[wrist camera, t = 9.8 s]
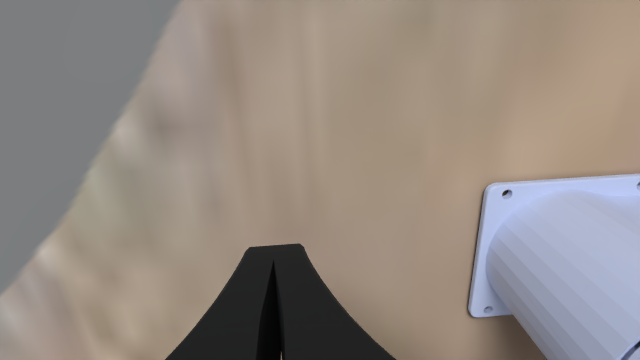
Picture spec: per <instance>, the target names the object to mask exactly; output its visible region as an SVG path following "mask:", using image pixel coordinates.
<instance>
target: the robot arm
mask: <svg viewBox="0 0 640 360" xmlns="http://www.w3.org/2000/svg"><path fill="white" fill-rule="evenodd" d="M639 182H640V174H626V175H610V176H594V177H579V178H563V179H548V180H532V181H517V182H501V183H493V184H490V185H489V186H488V187H487V188H486V189H485V192H484V197H483V204H482V212H481V219H480V226H479V233H478V240H477V247H476V255H475V262H474V269H473V276H472V283H471V290H470V298H469V305H468V310H469V312H470V314H471V315H472V316H473V317H477V318H479V317H490V316H501V315H512V314H513V315H514V317H515V318H516V319H517V321H518V322H519V323H520V325H521V326H522V327H523V328H524V330H525V331H526V332H527V334H528V335H529V336H530V338H531V339H532V340H533V341H534V343H535V344H536V345H537V347H538V348H539V349H540V351H541V352H542V353H543V354H544V356H545V357H546V358H547V360H640V184H639V185H638V186H637V184H638V183H639ZM505 190H508V193H507V194H506V195H504V196H502V194H503V192H504V191H505ZM488 306H489V307H488ZM486 307H488V308H487V309H485V308H486ZM281 353H282V360H396V359H395V358H393V357H392V356H391V355H390V354H389V353H388V352H387V351H385V350H384V349H383V348H382V347H381V346H380V345H379V344H378V343H376V342H375V341H374V340H373V339H372V338H371V337H370V336H369V335H368V334H367V333H366V332H365V331H364V330H363V329H362V328H361V327H360V326H359V325H358V324H357V323H356V322H355V321H354V319H353V318H352V317H351V316H350V315H349V314H348V313H347V312H346V310H345V309H344V308H343V307H342V306H341V304H340V303H339V302H338V301H337V300H336V298H335V297H334V296H333V294H332V293H331V292H330V290H329V289H328V288H327V286H326V285H325V283H324V282H323V281H322V279H321V278H320V276H319V275H318V273H317V272H316V270H315V268H314V267H313V265H312V263H311V262H310V260H309V258H308V256H307V254H306V252H305V249H304V247H303V246H302V245H301V244H286V245H273V246H259V247H249V248H248V250H247V251H246V252H245V254H244V256H243V257H242V259H241V261H240V263H239V265H238V266H237V268H236V270H235V271H234V273H233V275H232V276H231V278H230V279H229V281H228V282H227V284H226V285H225V287H224V288H223V290H222V291H221V293H220V294H219V296H218V297H217V299H216V300H215V301H214V303H213V304H212V305H211V307H210V308H209V309H208V311H207V312H206V313H205V314H204V316H203V317H202V318H201V319H200V321H199V322H198V323H197V325H196V326H195V327H194V328H193V329H192V331H191V332H190V333H189V334H188V335H187V336H186V338H185V339H184V340H183V341H182V342H181V343H180V344H179V345H178V346H177V347H176V349H175V350H174V351H173V352H172V353H171V354H170V355H169V356H168V357H167V358H166V359H165V360H280V359H281Z"/></svg>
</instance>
